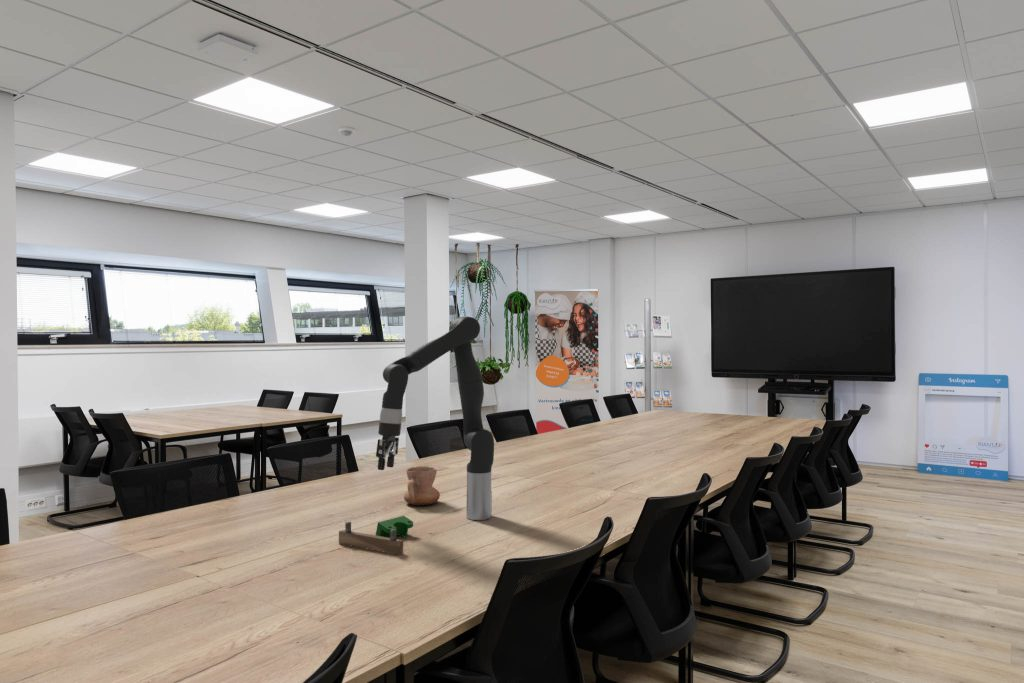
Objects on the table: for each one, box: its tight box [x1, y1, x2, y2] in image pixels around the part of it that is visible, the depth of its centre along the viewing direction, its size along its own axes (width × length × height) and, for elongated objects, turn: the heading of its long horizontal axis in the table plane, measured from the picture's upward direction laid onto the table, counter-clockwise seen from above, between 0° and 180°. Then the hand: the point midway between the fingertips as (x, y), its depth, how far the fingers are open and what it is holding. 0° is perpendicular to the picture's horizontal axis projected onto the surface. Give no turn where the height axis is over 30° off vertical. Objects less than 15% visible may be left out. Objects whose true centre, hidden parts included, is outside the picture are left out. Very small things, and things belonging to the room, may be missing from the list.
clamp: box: [375, 515, 414, 538], centre depth 215 cm, size 12×6×9 cm, turn 135°
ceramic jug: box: [403, 465, 441, 506], centre depth 261 cm, size 18×14×14 cm
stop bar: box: [338, 521, 404, 556], centre depth 203 cm, size 2×24×7 cm, turn 63°
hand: (385, 468), depth 222 cm, fingers open, 8 cm apart
